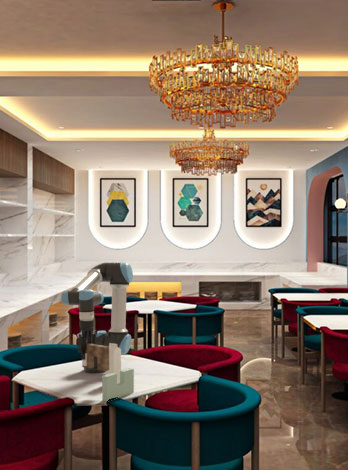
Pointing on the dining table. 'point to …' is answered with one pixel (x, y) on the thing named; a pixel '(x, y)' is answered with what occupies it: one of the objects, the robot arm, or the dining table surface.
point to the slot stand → (117, 390)
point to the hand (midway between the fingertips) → (87, 364)
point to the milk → (114, 360)
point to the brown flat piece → (98, 352)
